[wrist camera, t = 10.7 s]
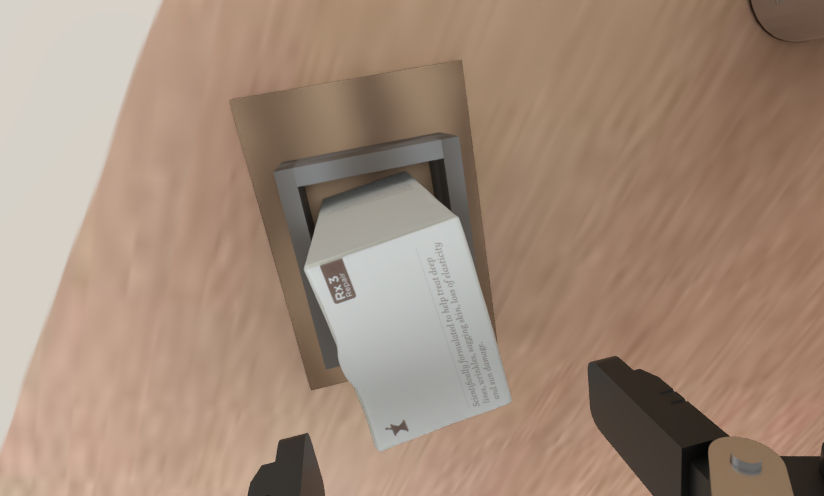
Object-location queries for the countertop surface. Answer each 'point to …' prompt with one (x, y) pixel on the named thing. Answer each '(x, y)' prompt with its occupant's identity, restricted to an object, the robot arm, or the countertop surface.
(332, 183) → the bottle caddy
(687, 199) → the countertop surface
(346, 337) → the skincare box
